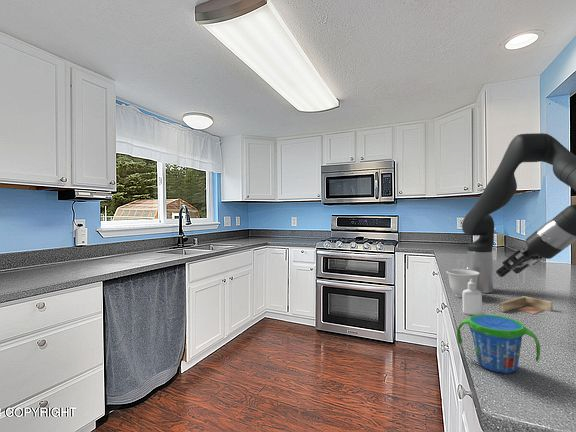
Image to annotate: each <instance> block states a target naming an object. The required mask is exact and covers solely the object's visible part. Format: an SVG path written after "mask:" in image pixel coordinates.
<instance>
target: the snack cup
mask: <svg viewBox="0 0 576 432" xmlns="http://www.w3.org/2000/svg"><path fill="white" fill-rule="evenodd" d="M464 324H467V325H468V327H469V329H470V333H471V334H472V335H471V336H472V340H473V345H474V351H475V355H476V359H477V361H478V363H479V364H480V365H481V366H482V367H483V368H485V369H487V370H489V371H492V372H497V373H503V374H510V373H513V372H515V371H518V367H519V360H520V355H521V350H522V349H521V348H522V340H523V339H522V338H523V336H525V335H527V336H529V337H532V338H533V340H534V342H535V345H536V346H535V347H536V348H535V349H536V356H535V361H536V362H539V359H540V355H541V345H540V341H539V339H538V337H537V336H536V334H535V333H534V332H533V331H531V329H529V328H527V327H525V325H524V324H523V323H522V322H520V321H518V320H516V319H513V318H509V317H506V316H500V315H494V314H482V315H470V317H469V318H466V319H464V320H462V321H461V322H460V323H459V325H458V327H457V331H456V340H457V343H458V344H459V345H461V344H462V342H463V339H462V334H461V328H462V326H464Z"/></svg>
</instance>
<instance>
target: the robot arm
mask: <svg viewBox="0 0 576 432" xmlns="http://www.w3.org/2000/svg"><path fill="white" fill-rule="evenodd" d="M538 162H542V163H546V164H549V165H551V166H552V172H553V174H554V176H555V177H556V178H557V179H558V180H559V181H560V182H562V183H564V184H565V185H566V186H567V187H570V188H571V189H572V190H574V191H575V192H576V154H574V153H573V152H571V151H570V150H569V149H568V148H566V146H564V145H563V144H562V143H561V142H560V141H559V140H557V139H556V138H555V137H553V136H552V135H551V134H549V133H544V132H543V133H540V132H539V133H538V132H537V133H536V132H535V133H520V134H518V135H516V136H515V137H513V138H512V140H511V141H510V142H509V144H508V146H507V148H506V150H505V152H504V155H503V157H502V159H501V161H500V163H499V165H498V166H497V168H496V170H495V173H493V175H492V177H491V179H490V181H489V182H488V183H487V184H486V187H484V189H483V191H482V193H481V195H480V196H479V198H478V200H477V201H476V202H475V204H474V205H473V207H472V208H471V209H470V210H469V211H468V213H467V214H466V215H465V216H464V218H463V220H462V222H461V229H462V232H463V234H465V235H466V236H478V238H477V239H476V240H475V241H473V242H470V243H468V244H467V246H466V247H467V249H466V250H467V251H466V252H467V267H465V270H472V271H476V272H479V273H480V275H478V279H477V287H476V290H478V291H480V292H481V293H482V294H483V293H485V294H486V293H487V294H489V293H493V292H494V272H493V271H494V269H493V268H494V266H493V265H494V264H493V263H494V261H493V248H494V242H495V221H494V218H493V216H491V214H493V213H495V212H496V211H498V210H501V209H502V208H503V207H505V206H506V205H507V204H508V203H509V202H510V201H511V199H512V198H513V196H514V195H515V194H516V192H517V188H518V183H517V179H516V177H515V176H516V175H515V173H516V170H517V168H519V166H520V165H521V164H522V163H538ZM575 242H576V204H570V205H569V206H567V207H565V208H564V209H562V211H560V212H559V213H558V214H557V215H556V216H554V217H553V218H552V219H550V220H549V221H547V222H545V223H544V224H543V225H541V227H538V229H537V230H535V231H534V232H533V233H532V234H530V235H529V236H528V237H527V238H525V244H526V245H527V248H523V249H521V250H520V249H519V250H517V251H515V252H514V253H513V254H511V255H510V256H508V258H506V259H505V260H504V261H502V265H501V267H500V268H498V269H496V271H495V273H496V274H497V275H498V276H499V277H500V278H503V277H505V276H506V275H508V274H509V273H510V272H514V274H517V275H518V274H520V273H521V272H523V271H524V270H525V269H527V268H530V267H531V266H535V265H536V264H537V263H539V262H540V261H542V259H546V260H550V259H551V260H552V259H553V258H554V257H555V256H557V255H558V254H559V253H561V252H562V251H564V250H565V249H566V248H568V247H569V246H570V245H572V244H573V243H575ZM511 263H512V264H511Z"/></svg>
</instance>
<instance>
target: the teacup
mask: <svg viewBox="0 0 576 432" xmlns="http://www.w3.org/2000/svg"><path fill="white" fill-rule="evenodd" d="M445 273H446V274H447V276H448V282H449V286H450V289H451V291H452V292H453V293H455V297H456V298H461V299H462V292H463V291H464V290H466V289H468V282H470V279H473V282H474V283H476V287H477V279H478V275H480V273H479V272H476V271H472V270H466V269H464V268H463V269H461V268H459V269H457V268H453V269H448V270H446V272H445Z"/></svg>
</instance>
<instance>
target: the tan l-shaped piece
mask: <svg viewBox="0 0 576 432" xmlns="http://www.w3.org/2000/svg"><path fill="white" fill-rule="evenodd" d="M498 303H499V308H498V309H499V312H501V313H506V312H510V311H512V309H513V310H516V311H519V312H522V313H523V312H524V313H527V314H532V315H535V314H538V313H540V312H544V311H547V312H548V311H549V312H553V305H554V304H553V301H549V300H544V299H539V298H535V297H529V296H526V295H525V296H524V295H522V296H520V297H519V296H518V297H515V298H511V299H508V300H504V301H501V302H498ZM509 310H510V311H509Z"/></svg>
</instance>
